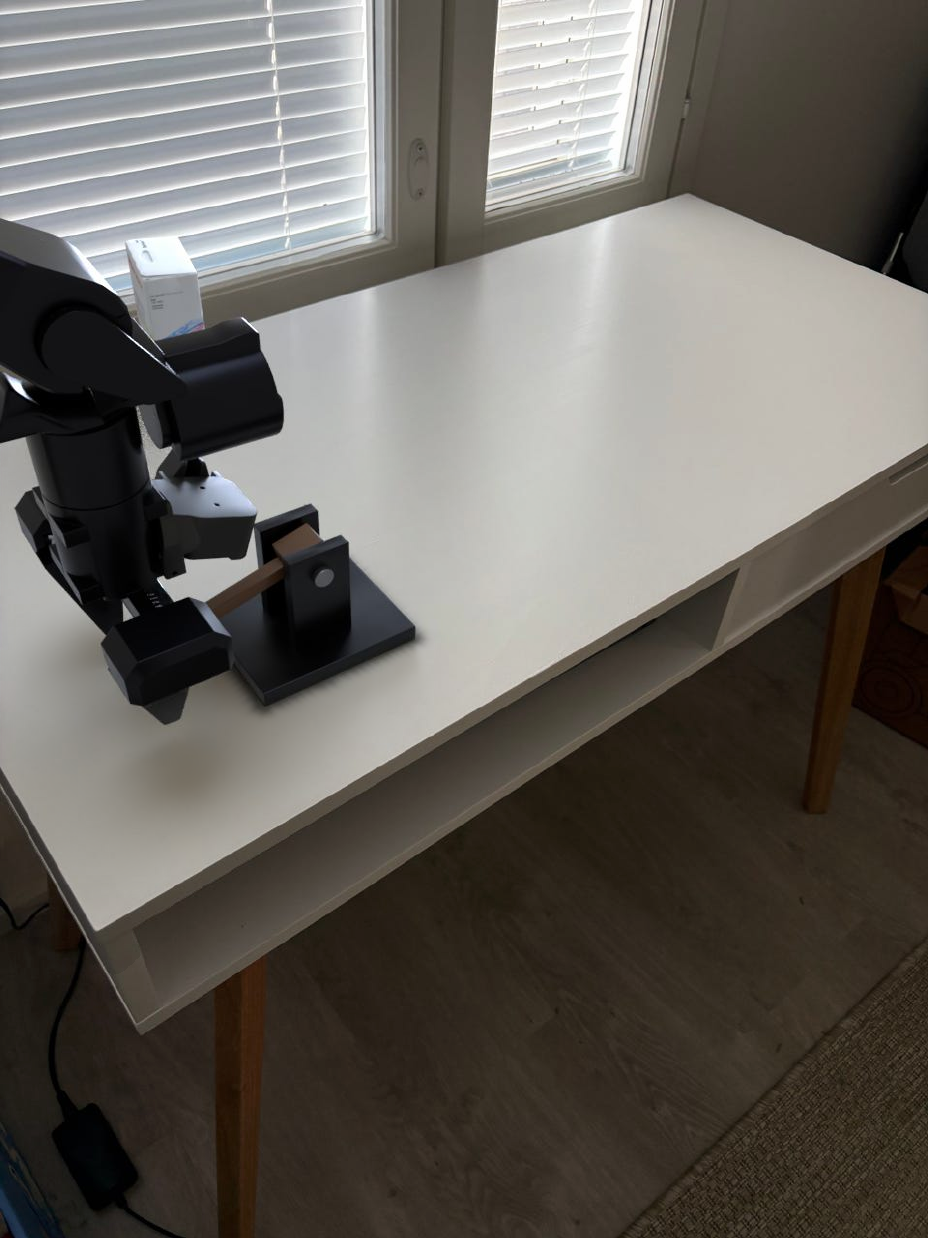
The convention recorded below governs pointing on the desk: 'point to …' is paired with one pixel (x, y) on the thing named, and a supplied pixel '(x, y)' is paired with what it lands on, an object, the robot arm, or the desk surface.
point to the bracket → (310, 614)
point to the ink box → (164, 287)
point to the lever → (263, 572)
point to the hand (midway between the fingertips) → (142, 675)
